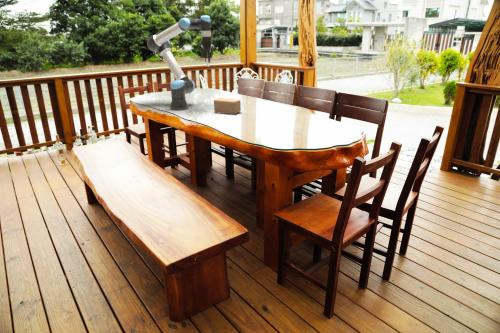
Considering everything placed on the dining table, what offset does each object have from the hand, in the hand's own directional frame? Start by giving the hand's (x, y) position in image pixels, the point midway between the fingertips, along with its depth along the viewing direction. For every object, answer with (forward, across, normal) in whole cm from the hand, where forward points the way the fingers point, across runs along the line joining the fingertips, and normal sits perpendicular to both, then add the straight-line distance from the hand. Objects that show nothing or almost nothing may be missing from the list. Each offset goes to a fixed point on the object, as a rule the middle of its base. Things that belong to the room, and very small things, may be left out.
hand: (208, 66), depth 274 cm
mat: (+34, +22, -13) cm, 43 cm away
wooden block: (+29, +13, -14) cm, 35 cm away
